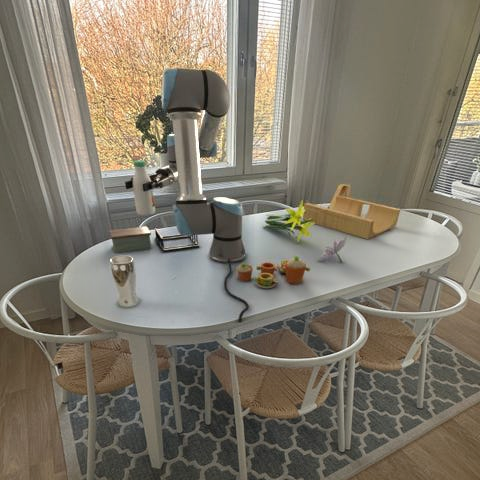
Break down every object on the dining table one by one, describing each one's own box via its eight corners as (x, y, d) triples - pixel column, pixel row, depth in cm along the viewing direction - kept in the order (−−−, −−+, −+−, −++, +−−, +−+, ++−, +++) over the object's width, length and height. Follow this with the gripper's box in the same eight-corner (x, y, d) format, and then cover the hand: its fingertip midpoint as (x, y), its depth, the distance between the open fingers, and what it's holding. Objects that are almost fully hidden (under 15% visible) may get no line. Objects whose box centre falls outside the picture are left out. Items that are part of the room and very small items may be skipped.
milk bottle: (150, 216, 141) (144, 163, 130) (133, 214, 142) (125, 162, 131) (158, 211, 147) (152, 160, 136) (141, 209, 149) (134, 159, 137)
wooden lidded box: (152, 248, 150) (150, 232, 146) (114, 253, 144) (111, 237, 140) (148, 241, 156) (146, 226, 152) (112, 246, 151) (108, 230, 147)
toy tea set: (291, 266, 138) (294, 243, 133) (312, 282, 126) (316, 258, 121) (231, 275, 129) (231, 251, 124) (247, 294, 117) (248, 268, 112)
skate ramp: (302, 221, 190) (305, 191, 181) (338, 208, 210) (343, 180, 201) (367, 241, 166) (374, 207, 157) (401, 224, 186) (409, 194, 177)
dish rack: (199, 247, 152) (198, 235, 149) (163, 252, 147) (162, 239, 144) (188, 235, 165) (187, 223, 162) (155, 239, 160) (153, 227, 156)
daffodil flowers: (285, 225, 184) (331, 226, 154) (266, 243, 181) (309, 248, 151) (268, 199, 175) (314, 195, 145) (249, 218, 172) (291, 217, 143)
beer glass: (120, 297, 114) (112, 254, 106) (141, 296, 114) (135, 254, 106) (115, 308, 108) (106, 264, 100) (138, 307, 109) (131, 264, 100)
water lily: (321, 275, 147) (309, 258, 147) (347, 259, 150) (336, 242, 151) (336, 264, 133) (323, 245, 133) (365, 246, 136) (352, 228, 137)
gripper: (187, 187, 151) (158, 199, 134) (148, 182, 157) (115, 193, 140) (186, 169, 147) (156, 179, 129) (145, 165, 153) (112, 173, 136)
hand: (135, 186), depth 135 cm, fingers closed on milk bottle, 7 cm apart
